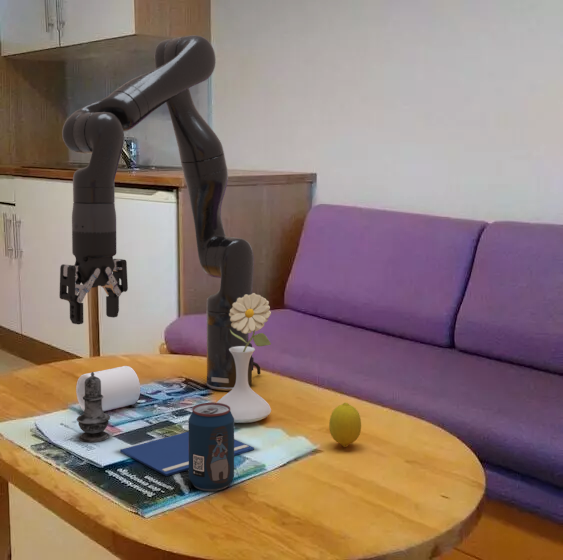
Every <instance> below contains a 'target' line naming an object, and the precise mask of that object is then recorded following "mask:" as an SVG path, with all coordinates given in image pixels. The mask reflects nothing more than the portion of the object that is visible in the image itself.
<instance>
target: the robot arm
mask: <svg viewBox="0 0 563 560" xmlns="http://www.w3.org/2000/svg"><path fill="white" fill-rule="evenodd" d="M154 50H155V51H154V54H153V55H154V56H153V57H154V59H153V60H154V69H152V70H150V71H147V72H145V73H142V74H141V75H138V76H136V77H134V78H132V79H130V80H128V81H126V82H125V83H124V84H122V85H120V86H119V87H117V88H116V89H115V90H113V91H112V92H111V93H110V94H108V95H107V96H106V97H104V98H102V99H99V100H97V101H94V102H92V103H90V104H88V105H85V106H83V107H81V108H79V109H77V110H76V111H73V113H71V114H70V115H69V116H68V117H67V118H66V120H65V121H64V124H63V126H62V131H61V134H62V136H61V137H62V140H63V142H64V145H65V146H66V148H68V150H70V151H71V152H74V153H75V154H82V155H91V156H90V159H89V162H88V165H87V166H85V167H81V168H78V169H76V170H75V171H74V173H73V177H72V210H71V211H72V212H71V243H72V244H71V245H72V246H71V250H72V255H73V256H74V257H75V261H74V265H73V264H66V263H65V264H61V265H60V266H59V299H60V300H64V301H67V302H68V303H69V319H70V322H71V324H73V325H82V324H84V302H83V301H84V299H85V296H86V295H87V293H89V292H90V291H91V289H92V288H97V287H101V288H103V290H104V292H105V293H106V295H107V296H105V311H106V312H105V314H106V317H108V318H117V317H118V316H119V312H120V297H121V295H122V293H126V292H128V290H129V287H128V285H129V284H128V265H127V260H126V259H123V258H114V256H116V255H117V212H116V211H117V210H116V205H115V204H116V202H115V201H116V199H115V197H116V196H115V194H116V193H115V191H116V190H115V179H116V175H117V171H118V168H119V164H120V160H121V156H122V153H123V148H124V143H125V132H128V131H130V130H132V129H133V128H135V127H136V126H137V125H138V124H139V123H141V122H142V121H143V120H145V119H146V118H147V117H148V116H150V115H151V114H152V113H153V112H155V111H156V110H158V109H159V108H160V107H161V106H163V105H164V104H166V106H167V110H168V113H169V117H170V121H171V124H172V128H173V131H174V136H175V139H176V144H177V148H178V155H179V160H180V164H181V168H182V173H183V178H184V182H185V184H186V188H187V194H188V199H189V203H190V209H191V213H192V217H193V224H194V232H195V241H196V249H197V256H198V261H199V265H200V267H201V269H202V270H203V272H204V273H205V274H206V275H208V276H209V277H212V278H217V279H220V283H219V284H220V285H219V290H218V291H217V292H216V293H214V294H211V295H209V296H208V297H207V298H206V381H205V382H206V383H205V384H206V387H207V388H208V389H211V390H215V391H220V392H221V391H222V392H230V391H231V390H232V389H233V388H234V386H235V383H236V365H235V360H234V357H233V355H232V353H231V352H230V351H229V349H230V348H231V347H236V346H246V344H247V343H248V341H249V333H247V334H244V333H242V332H241V330H240V331H237V330H236V329H234V328H233V327H232V326H231V323H232V321H230V318H231V317H230V316H229V313H230V309H232V307H233V303H236V301H237V299H238V298H242V297H244V295H246V294H247V295H248V296H249V295H251V294H252V293H253V289H254V288H253V287H254V286H253V285H254V270H255V268H254V267H255V257H254V250H253V248H252V246H251V244H250V242H249V241H247V240H246V239H244V238H241V237H236V236H235V237H234V236H226V232H225V228H224V224H223V220H222V204H223V200H224V197H225V194H226V191H227V186H228V181H229V170H228V166H227V160H226V156H225V151H224V147H223V144H222V142H221V140H220V138H219V137H218V135H217V134H216V132H215V131H214V130H213V128H212V126H210V125H209V123H208V122H207V121H206V120H205V119H204V117H202V115H201V113H200V112H199V110H198V109H197V107H196V105H195V102H194V100H193V97H192V93H191V90H190V89H191V88H193V87H194V86H197V85H199V84H201V83H202V82H205V81H207V80H208V79H209V78H210V77H211V76H212V75H213V73H214V71H215V68H216V63H217V62H216V53H215V50H214V47H213V45H212V44H211V42H210V41H209V40H208V39H207V38H206V37H204V36H202V35H196V34H195V35H194V34H191V35H185V36H179V37H173V38H167V39H163V40H161V41H160V42H159V43H158V44H157V45H156V47H155V49H154ZM230 330H231V331H232V332H233V333H234V334H236V335H238V336H240V337H242V338H243V339H244V340H245V341H246V342H247V343H246V342H244V341H242V340H241V339H239V338H237V337H235V336H234V335H233V334H232V333H231V331H230ZM248 347H253V343H251V342H250V343H249V344H248ZM254 360H255V359H254V357H253V354H252V355H251V358H250V361H249V366H248V384H249V386H250V387H251V386H252V385H253V371H254V367H255V368H256V374H257V375H261V367H260V365H259V364H258V363H257V362H255V361H254Z"/></svg>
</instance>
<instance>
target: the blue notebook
mask: <svg viewBox="0 0 563 560" xmlns="http://www.w3.org/2000/svg"><path fill="white" fill-rule="evenodd" d="M254 450H255V447H254V446H251V445H249V444H247V443H244V442H241V441H239V440H237V439H235V438H234V457H236V456H238V455H241V454H244V453H248V452H251V451H254ZM119 452H120V453H122V454H124V455H125V456H127V457H129V458H131V459H133V460H135V461H137V462H138V463H141V464H142V465H144V466H146V467H148V468H150V469H151V470H153V471H155V472H157V473H159V474H161V475H163V476H165V477H169V476H173V475H175V474H179V473H182V472H183V473H184V472H186V471H189V431H186V432H181V433H178V434H174V435H170V436H167V437H163V438H158V439H155V440H151V441H148V442H143V443H140V444H136V445H133V446H129V447H125V448H121V449H120V450H119Z"/></svg>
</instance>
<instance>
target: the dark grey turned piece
mask: <svg viewBox="0 0 563 560" xmlns="http://www.w3.org/2000/svg"><path fill="white" fill-rule="evenodd" d="M93 372H94V371H92V372H90V373H91V376H90V377H89V378H87V379H86V380H85V396H84V397H83V399H84V400H85V410H84V411H83V413H82V414H80V415H79V416H77V417H76V421H77V423H78V426H79V429H80V430H81V431H82V432H83V433H81V434H80V435H79V436H78V440H79V441H81V442H84V443H99V442H101V441H102V442H103V441H105V440H107V439H109V438H110V433H107V432H106V431H105V430H106V429H107V428H108V425H109V420H111V415H109V414H108V413H106V412H105V413H104V412H103V410H102V398H103V395H101V380H100V379H99V378H98V377H95V376H94V373H93Z"/></svg>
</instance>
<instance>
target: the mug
mask: <svg viewBox="0 0 563 560" xmlns="http://www.w3.org/2000/svg"><path fill="white" fill-rule="evenodd" d="M92 372H93V373H94V376H95V377H98V378H99V379H100V380H101V395H103V398H102V410H103V413H104V412H108V411H112V410H115V409H120V408H124V407H128V406H131V405H135V404H136V403H137V402H138V401H139V398H140V395H141V383H140V379H139V376H138V374H137V371H135V370H134V368H132V367H131V366H128V365H123V366H118V367H117V366H116V367H113V368H108V369H103V370H98V371H97V370H96V371H92ZM92 372H88V373H84V374H81V375H80V376H79V377H78V379H77V382H76V387H75V394H76V399H77V403H78V404H79V408H80V409H81V410H82V411H83V412H84V410H85V400H84V399H83V397H84V396H85V380H86V379H87V378H89V377H90V376H91V373H92Z"/></svg>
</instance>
